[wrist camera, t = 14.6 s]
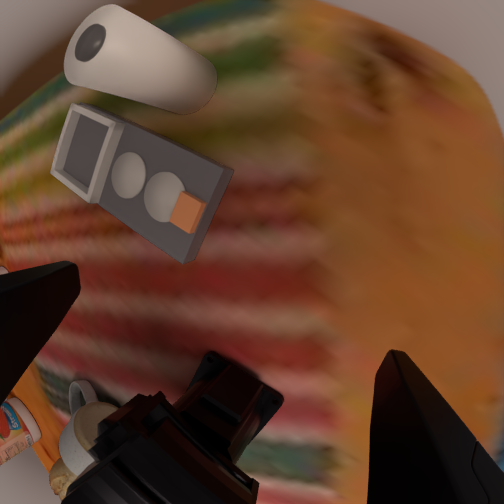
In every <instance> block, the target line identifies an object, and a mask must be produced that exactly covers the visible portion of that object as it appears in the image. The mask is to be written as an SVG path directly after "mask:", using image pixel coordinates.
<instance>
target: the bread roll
mask: <svg viewBox="0 0 504 504" xmlns="http://www.w3.org/2000/svg"><path fill="white" fill-rule="evenodd" d="M77 477H78V476H77V475H75V474H74V473H73V472H72V471H70V470H69V468H68V467H67V466H66V465H65V463H64V462H63V460H62V457H61V458H59V459H58V460H57V461H56V462H55V464H54V465H53V466H52V468H51V471H50V475H49V481H50V486H51V488H52V490H53V491H54V493H55V495H59V497H60V499H61V501H62V500H63V499H64V498H65V497H66V492H67V488H68V486H69V485H70V484H71V483H72V482H73V481H74V480H75V479H76V478H77Z"/></svg>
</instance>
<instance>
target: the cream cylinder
mask: <svg viewBox="0 0 504 504" xmlns="http://www.w3.org/2000/svg"><path fill="white" fill-rule="evenodd" d="M64 72H65V76H66V78H67V80H68V81H69V82H70V83H71V84H73V85H77V86H81V87H85V88H89V89H93V90H97V91H101V92H105V93H109V94H113V95H117V96H120V97H124V98H127V99H131V100H134V101H138V102H141V103H145V104H148V105H151V106H154V107H158V108H161V109H164V110H167V111H170V112H173V113H177V114H181V115H186V114H191V113H194V112H196V111H198V110H200V109H201V108H202V107H204V106H205V105H206V104H207V103H208V101H209V100H210V99H211V97H212V96H213V94H214V92H215V89H216V85H217V72H216V69H215V67H214V65H213V64H212V63H211V62H210V61H209V60H207V59H206V58H204V57H203V56H201V55H200V54H199V53H197V52H195V51H194V50H192V49H191V48H189V47H188V46H186V45H185V44H183V43H182V42H180V41H178V40H177V39H175V38H174V37H172V36H170V35H169V34H167V33H165V32H164V31H162V30H160V29H159V28H157V27H155V26H154V25H152V24H150V23H149V22H147V21H145V20H143V19H142V18H140V17H138V16H136V15H134V14H133V13H131V12H129V11H127V10H125V9H123V8H121V7H120V6H117V5H114V4H110V5H105V6H102V7H100V8H98V9H97V10H95V11H94V12H92V13H91V14H90V15H89V16H88V17H87V18H86V19H85V20H84V21H83V22H82V23H81V24H80V26H79V27H78V28H77V30H76V31H75V33H74V35H73V36H72V38H71V40H70V43H69V45H68V48H67V51H66V54H65V59H64Z"/></svg>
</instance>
